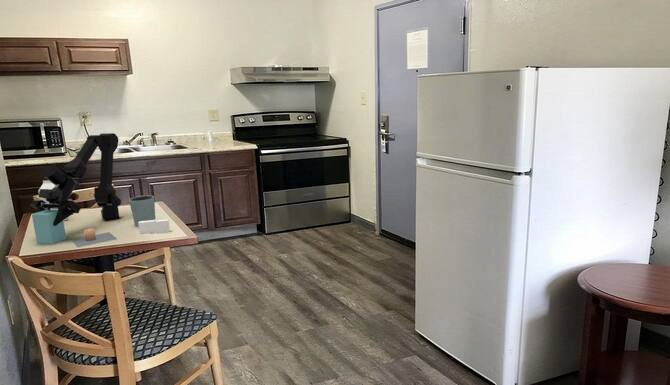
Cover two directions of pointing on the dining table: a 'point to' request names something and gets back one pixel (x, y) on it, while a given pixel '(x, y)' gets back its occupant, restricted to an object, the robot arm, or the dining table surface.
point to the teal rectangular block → (48, 227)
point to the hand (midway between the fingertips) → (46, 225)
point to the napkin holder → (154, 226)
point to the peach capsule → (89, 234)
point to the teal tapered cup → (142, 208)
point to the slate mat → (99, 238)
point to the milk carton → (48, 186)
